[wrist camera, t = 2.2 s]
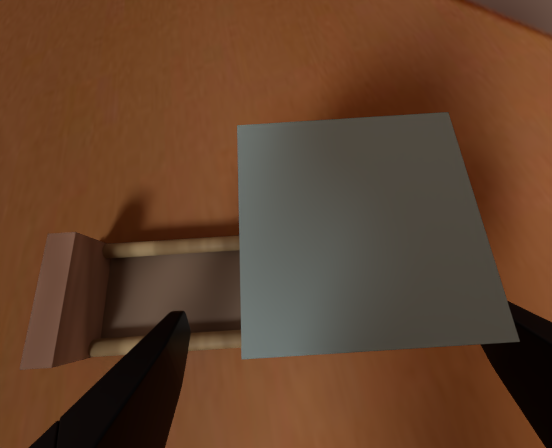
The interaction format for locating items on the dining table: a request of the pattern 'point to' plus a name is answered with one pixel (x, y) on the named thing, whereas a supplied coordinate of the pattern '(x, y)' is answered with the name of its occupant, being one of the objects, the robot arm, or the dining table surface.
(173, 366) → the robot arm
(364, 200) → the carriage
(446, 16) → the dining table surface
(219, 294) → the rail track
